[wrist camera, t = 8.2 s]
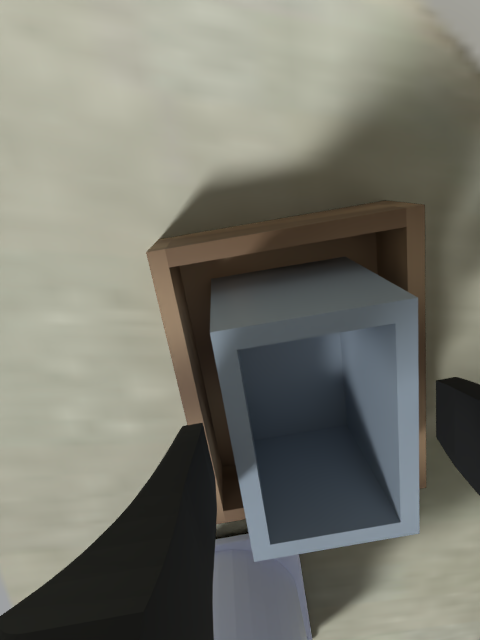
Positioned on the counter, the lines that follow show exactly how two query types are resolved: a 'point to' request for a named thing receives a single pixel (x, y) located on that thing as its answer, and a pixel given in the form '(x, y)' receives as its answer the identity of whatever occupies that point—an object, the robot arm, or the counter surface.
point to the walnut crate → (261, 254)
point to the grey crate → (320, 403)
